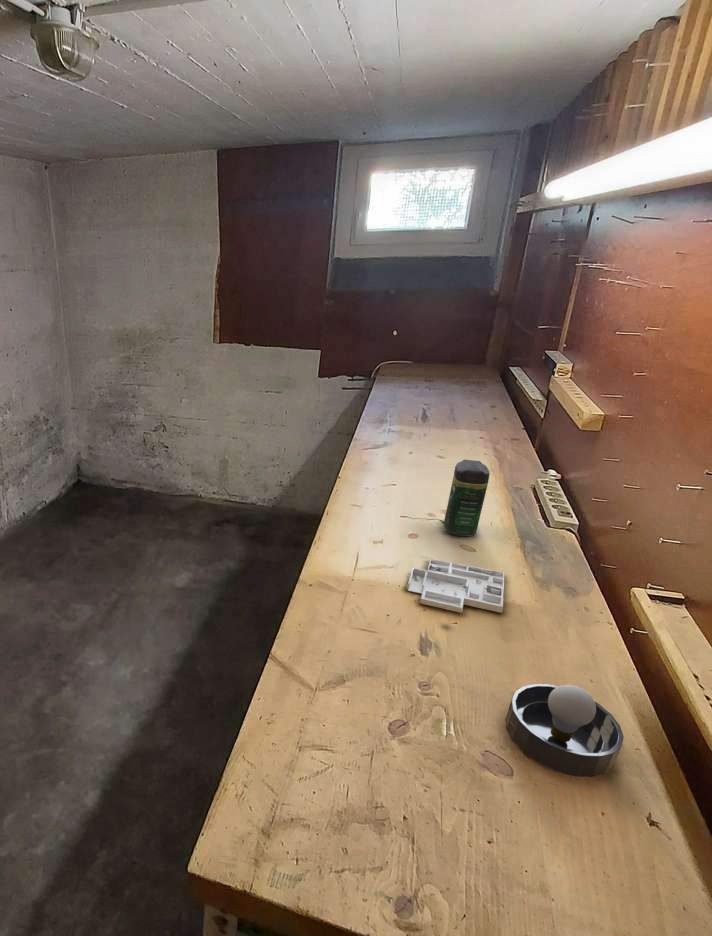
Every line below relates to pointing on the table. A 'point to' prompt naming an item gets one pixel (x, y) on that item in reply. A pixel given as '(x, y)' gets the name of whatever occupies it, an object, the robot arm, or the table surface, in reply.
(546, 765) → the bowl
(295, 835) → the table surface
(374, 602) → the table surface
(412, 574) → the floor plan model
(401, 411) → the table surface
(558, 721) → the light bulb
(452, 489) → the coffee jar
